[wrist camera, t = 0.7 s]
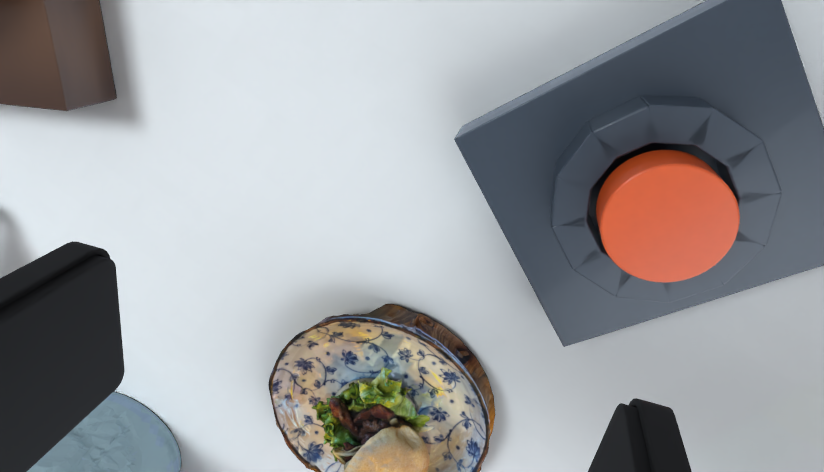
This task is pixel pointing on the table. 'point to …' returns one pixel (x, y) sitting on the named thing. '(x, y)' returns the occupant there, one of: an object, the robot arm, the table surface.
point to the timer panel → (54, 54)
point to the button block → (648, 131)
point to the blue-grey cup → (115, 442)
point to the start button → (666, 216)
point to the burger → (382, 396)
